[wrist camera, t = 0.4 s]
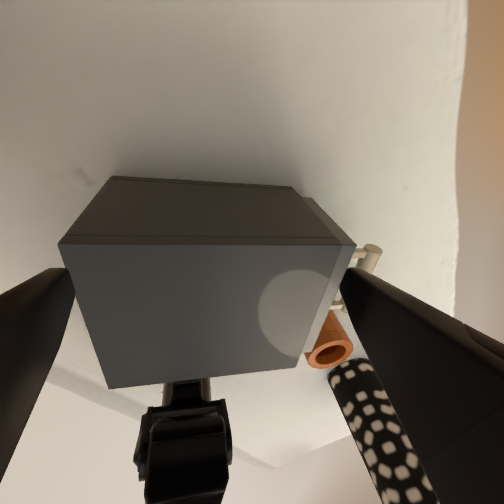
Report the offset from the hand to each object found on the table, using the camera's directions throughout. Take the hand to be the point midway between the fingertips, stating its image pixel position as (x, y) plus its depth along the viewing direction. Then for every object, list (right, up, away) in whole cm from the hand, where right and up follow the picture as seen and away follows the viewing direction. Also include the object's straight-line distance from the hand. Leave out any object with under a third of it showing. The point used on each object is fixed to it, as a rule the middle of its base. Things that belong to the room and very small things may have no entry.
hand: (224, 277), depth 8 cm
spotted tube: (+18, -21, +37) cm, 46 cm away
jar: (+9, -8, +25) cm, 28 cm away
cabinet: (-4, +1, +16) cm, 16 cm away
